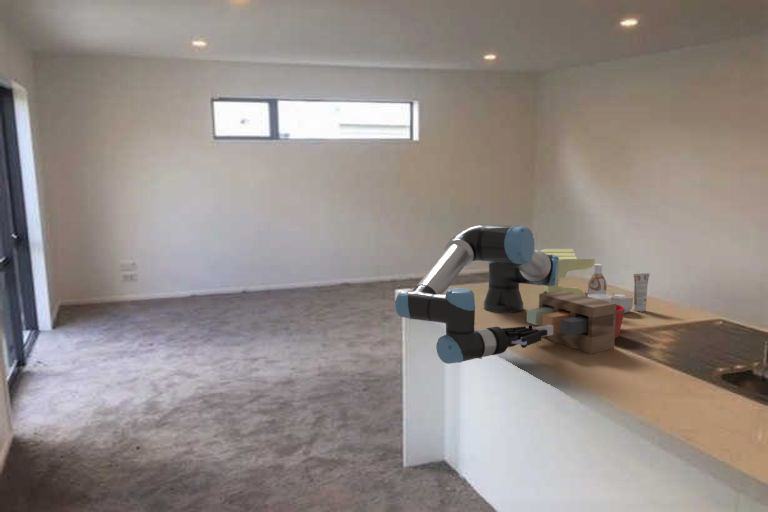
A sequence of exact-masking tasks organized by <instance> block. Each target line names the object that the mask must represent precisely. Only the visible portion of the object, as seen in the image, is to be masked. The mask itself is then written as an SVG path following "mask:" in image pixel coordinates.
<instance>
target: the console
mask: <svg viewBox="0 0 768 512" xmlns="http://www.w3.org/2000/svg"><path fill="white" fill-rule="evenodd" d="M538 297H539V298H538V308H541V307H547V306H552V307H554V313H555V312H560V311H566V310H567V311H570V312H571V314H570V318H571V317H577V316H582V315H585V316H589V318H588V332H587V333H582V334H577V335H572V336H570V335H567V334H564V333H561V332H560V329H556V330H553V335H549V336H544V337H543V338H545V339H547V340H550V341H553V342H556V343H558V344H561V345H565V346H567V347H570V348H573V349H576V350H580V351H582V352H584V353H587V354H590V355H591V354H592V355H593V354H596V353H601V352H605V351H609V350H613V349H615V343H616V342H615V341H616V340H615V339H616V338H615V324H616V303H612V302H608V301H604V300H600V299H595V298H591V297H587V295H586V296H583V295H579V294H575V293H570V292H566V291H555V292H548V293H547V292H542V293H539V294H538ZM540 326H543V324H538V325H537V327H540Z"/></svg>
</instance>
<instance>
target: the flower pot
mask: <svg viewBox="0 0 768 512" xmlns="http://www.w3.org/2000/svg"><path fill="white" fill-rule="evenodd" d="M624 310H625V308H624V307H623V306H621V305H616V324H615V339H616V338H619V335H620V332H621V328H622V324H623V323H622V322H623V318H624V314H625V313H624Z"/></svg>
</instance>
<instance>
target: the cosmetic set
mask: <svg viewBox="0 0 768 512" xmlns="http://www.w3.org/2000/svg"><path fill="white" fill-rule="evenodd" d="M602 271H603V264H602V263H594V266H593V274H592V275H591V276H590V278H589V280H588V283H587V295H589V294H604V295H609V296H611V302H612V303H616V305H621V306H623V307H624V308H625V310H624V314H628V313H629V312H630V311H631V310H632V309H633V310H634V311H635V312H638V311H640V312H642V313H643V312H645V311H646V310H647V296H648V285H649V278H650V274H651V273H650V272H647V273H643V272H642V273H634V274H633V280H634V291H633V293H634V294H629V293H624V292H610V293H607V280H606V279H605V277H604V275H603V274H602Z"/></svg>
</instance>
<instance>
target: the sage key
mask: <svg viewBox="0 0 768 512" xmlns="http://www.w3.org/2000/svg"><path fill="white" fill-rule="evenodd" d="M549 313H554V307H552V306H547V307H541V308H539V307H536V308H530V309H526V323H529V324H530V325H533V326H534V325H535V326H536V325H537V326H538V324H543V314H549Z"/></svg>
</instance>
